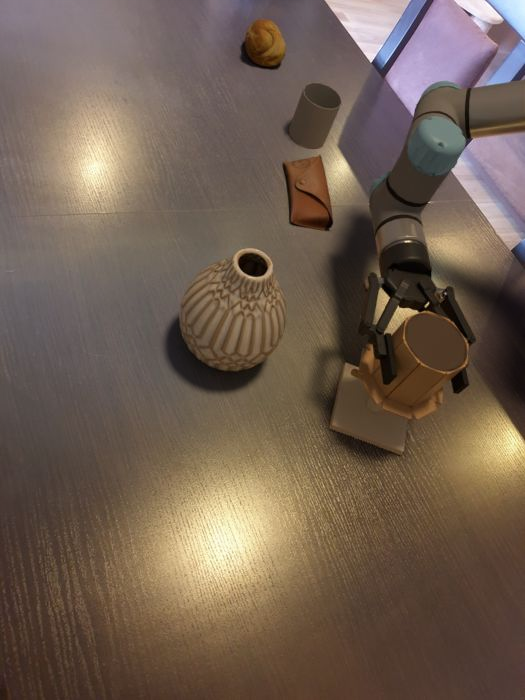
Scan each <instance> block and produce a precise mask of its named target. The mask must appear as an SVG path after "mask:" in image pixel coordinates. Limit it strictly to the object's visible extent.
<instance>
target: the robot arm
mask: <svg viewBox="0 0 525 700" xmlns="http://www.w3.org/2000/svg"><path fill="white" fill-rule="evenodd" d="M413 111H414V112H413V116H412V121H411V124H410V127H409V129H408V132H407V135H406V138H405V141H404V144H403V147H402V150H401V153H399V156H398V158H397V160H396V162H395V164H394V165H393V167H392V169H391V170H390V171H385V172H384V173H382V174H381V175H380V176H378V177H377V178H375V179H374V180H373V181H372V182H371V184H370V186H369V190H368V197H369V199H368V204H369V206H368V207H369V208H368V209H369V212H370V218H371V222H372V228H373V234H374V239H375V247H376V252H377V258H378V268H379V275H380V276H378V275H377V273H375V272H373V271H371V272H369V274H368V276H367V277H366V278H365V280H364V281H363V283H362V288H363V293H364V297H363V302H362V307H361V311H360V315H359V321H358V326H357V330H356V331H357V334H358V335H359V336H361V337H363V336H366V337H367V342H368V344H369V343H370V344H373V352H374V357H375V359H378V360H380V365H381V372H382V379H383V385H389V384H390V383H391V382H392V381H393V380H394V379H395V378H396V377H397V376H398V375H397V368H396V362H395V355H394V349H393V342H392V333H391V332H386V331H387V328H388V326H389V325H390V322H391V321H392V318H393V317H394V315H395V313H396V311H397V309H398V308H399V309H410V310H413V311H417V312H418V313H420V312H423V311H426V312H427V311H429V312H432V313H434V314H437V315H440V316H442V317H445V318H447V319H450V320H451V321H450V322H453V323H454V324H455V325H456V327H457V328H458V329H459V331H460V332H461V333H462V335H463V336H464V337H465V339H466V340H467V341H468V342H467V343H468V349H469V348H471V346H472V345H473V344H475V343H476V341H477V338H476V336H475V334H474V332H473V330H472V328H471V326H470V324H469V322H468V320H467V318H466V316H465V314H464V313H463V311H462V308H461V307H460V305H459V303H458V301H457V299H456V294H455V288H454V287H453V286H451V285H447V286H446V287H445V288H442V287H438V286H437V285H436V283H435V282H434V281H433V279H432V275H433V274H432V273H433V267H432V263H431V257H430V253H429V247H428V244H427V238H426V234H425V230H424V225H423V220H422V212H423V211H424V209H425V208H426V207H427V205H428V204H429V202H430V201H431V200H432V198H433V196H434V195H435V193H436V192H437V191H438V190H439V188H440V186H441V185H442V183H443V182H444V181H445V179H446V178H447V177H448V175H449V174H450V173H451V171H453V169H454V168H455V167H456V166H457V164H458V162H459V161H458V160H459V159H460V157H461V155H462V154H463V152H464V150H465V148H466V145H467V140H472V139H480V138H490V137H497V136H500V137H501V136H507V135H517V134H525V79H520V80H512V81H507V82H500V83H494V84H487V85H480V86H474V87H469V88H462V87H461V86H460V85H458V84H457V83H455V82H452V81H448V80H440V81H436V82H434V83H432V84H430V85H429V86H428V87H427V88H425V90H424V91H423V92H422V94H421V95H420V98H419V99H418V101H417V103H416V104H415V108H414V110H413ZM380 289H382V291H383V292H384V293H385V294H386V295H387V297H388V301H387V302H386V304H385V306H384V309H383V311H382V312H381V314H380V316H379V318H378V320H377V322H376V324H374V319H375V313H376V310H377V309H376V308H377V303H378V297H379V291H380ZM468 367H469V360H468V359H467V365H466V367H464V368H463V369H462V370H461V371H460V372H459V373H458V374H456V375H455V376H454V377H453V378H452V379H451V380H450V384H451V387H452V388H451V389H452V393H453V394H455V395H459V394H460V393H462V392H463V391H464V390H465V389H466V388H468V387H469V386H470V381H469V376H468V372H467V368H468Z"/></svg>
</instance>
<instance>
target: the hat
mask: <svg viewBox="0 0 525 700" xmlns="http://www.w3.org/2000/svg"><path fill="white" fill-rule="evenodd" d="M450 321H451V320H450V319H447V318H445V317H442V316H440V315H437V314H434V313H432V312H429V311H427V312H426V311H423V312H420V313H419V312H418V313H415V314H413V315H410V316H407V317H406V318H405V319H404V320H403V321H402V322H401V323H400V325H399V326H398V327H397V328H396V330H395V331H394V332H393V333H392V334H391V336H392V342H393V349H394V355H395V362H396V368H397V375H398V376H397V377H396V378H395V379H394V380H393V381H392V382H391V383H390V384H389V385H383V379H382V372H381V365H380V360H378V359H375V357H374V352H373V344H370V343H369V342H368V343H367V344H365V347H366V348H365V347H363V348H362V351H361V355H360V360H359V365H358V367H359V370H358V374H361V375H363V377H361V378H360V379H359V380H360V381H361V383H362V384H363V386H364V387H365V389H366V390H367V392H368V394H369V395H370V397H371V398H372V400H373V401H374V403H375V404H376V405H377V404H380V403H382V408H381V409H382V410H384V411H387V412H390V413H392V414H395V415H397V416H400V417H403V418H405V419H408V421H411V420H412V417H413V418H414V420H415V421H418V420H419V419H422V418H423V417H425V416H427V415H430V414H432V413H434V412H436V411H438V410H439V409H440V408H439V406H442V405H443V396H444V395H443V394H444V386H445V385H446V384H447V383H449V382H451V379H452V378H453V377H454V376H455V375H456V374H458V373H459V372H460V371H461V370H462V369H463V368H464V367H466V365H467V359H468V358H469V348H468V343H467V342H468V341H467V340H466V339H465V337H464V336H463V335H462V333H461V332H460V331H459V329H458V328H457V327H456V325H455V324H454V323H453V322H450Z"/></svg>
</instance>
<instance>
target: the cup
mask: <svg viewBox="0 0 525 700" xmlns="http://www.w3.org/2000/svg"><path fill="white" fill-rule="evenodd" d="M342 103H343V100H342V96H341V95H340V94H339V92H338V91H337V90H336V89H334V88H333V87H332V86H330V85H327V84H325V83H323V82H310V83H307V84H305V85H304V87H303V89H302V91H301V95H300V96H299V99H298V103H297V105H296V107H295V111H294V114H293V117H292V119H291V122H290V125H289V127H288V132H289V133H288V134H289V137H290V138H291V139H292V141H293V142H294V143H296V144H297V145H299V146H300V147H303V148H306V149H308V150H309V149H311V150H316V149H317V150H318V149H320V148H322V147H324V145H325V143H326V141H327V140H328V136H329V135H330V131H331V129H332V128H333V125H334V122H335V120H336V117H337V115H338V113H339V111H340V108H341V106H342Z"/></svg>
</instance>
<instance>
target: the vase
mask: <svg viewBox="0 0 525 700" xmlns="http://www.w3.org/2000/svg"><path fill="white" fill-rule="evenodd" d="M178 313H179V316H178V318H179V320H178V321H179V322H178V323H179V329H180V334H181V336H182V338H183V340H184V343H185V345H186V346H187V348H188V349H189V351H190V352H191V353H192V354H193V356H195V357H196V358H197V359H198V361H200V362H201V363H203V364H204V365H206V366H209V367H210V368H213V369H216V370H219V371H224V372H239V371H244V370H248V369H251V368H253V367H255V366H257V365H259V364H261V363H263V362H264V361H265V360H266V359H268V358H269V357H270V356H271V355H272V354H273V352H274V351H275V350H276V349H277V348H278V346H279V344H280V342H281V341H282V338H283V336H284V333H285V330H286V325H287V303H286V297H285V294H284V291H283V289H282V286H281V284H280V282H279V280H278V279H277V277H276V276H275V274H274V264H273V261H272V260H271V258H270V257H269V255H268V254H266V253H265V252H263V251H262V250H260V249H257V248H253V247H245V248H242V249H240V250H238V251H237V252H236V253H235V254H233V256H232V257H227V258H224V259H221V260H218V261H216V262H214V263H212V264H210V265H208V266H207V267H205V268H204V269H203V270H202V271H200V272H199V274H197V275H196V276H195V278H194V279H193V280H191V282H190V283H189V285H188V287H187V288H186V289H185V291H184V293H183V296H182V298H181V301H180V306H179V312H178Z"/></svg>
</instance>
